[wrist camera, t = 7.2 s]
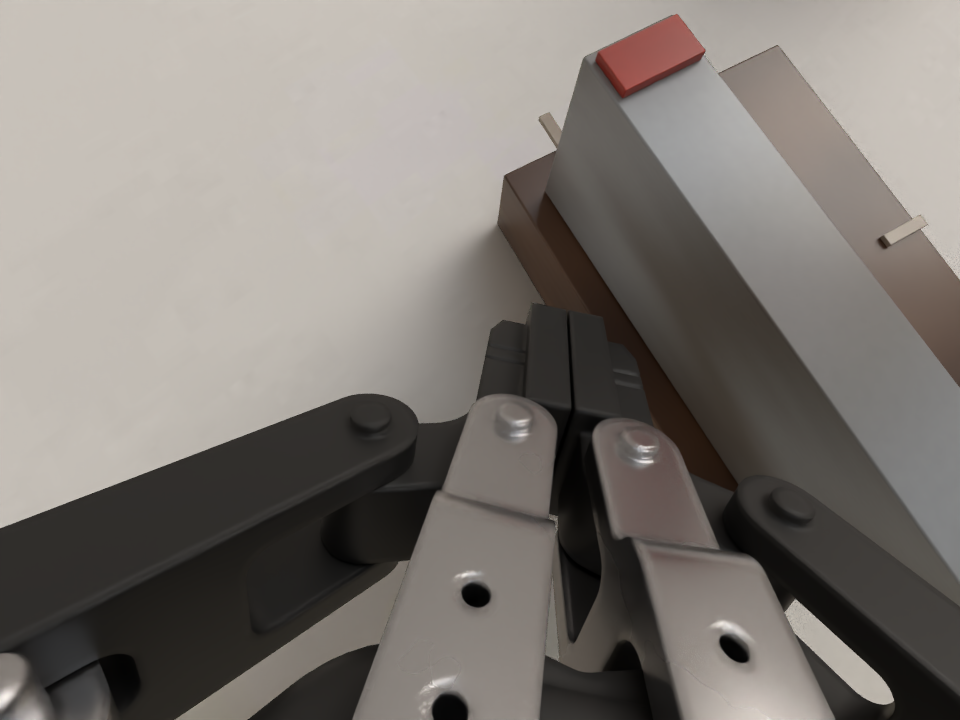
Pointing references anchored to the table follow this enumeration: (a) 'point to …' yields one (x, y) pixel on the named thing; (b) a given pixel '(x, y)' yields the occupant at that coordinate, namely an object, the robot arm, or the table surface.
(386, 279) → the table surface
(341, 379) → the table surface
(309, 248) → the table surface
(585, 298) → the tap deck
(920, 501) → the red-tipped metal brick
